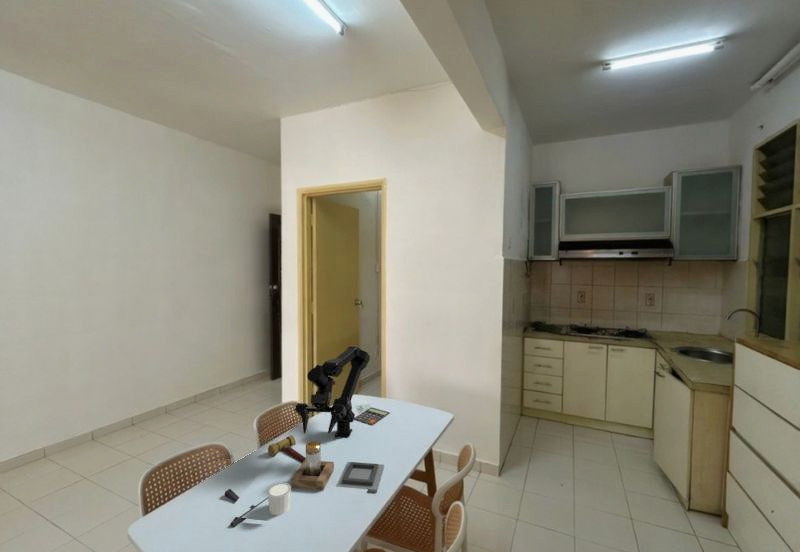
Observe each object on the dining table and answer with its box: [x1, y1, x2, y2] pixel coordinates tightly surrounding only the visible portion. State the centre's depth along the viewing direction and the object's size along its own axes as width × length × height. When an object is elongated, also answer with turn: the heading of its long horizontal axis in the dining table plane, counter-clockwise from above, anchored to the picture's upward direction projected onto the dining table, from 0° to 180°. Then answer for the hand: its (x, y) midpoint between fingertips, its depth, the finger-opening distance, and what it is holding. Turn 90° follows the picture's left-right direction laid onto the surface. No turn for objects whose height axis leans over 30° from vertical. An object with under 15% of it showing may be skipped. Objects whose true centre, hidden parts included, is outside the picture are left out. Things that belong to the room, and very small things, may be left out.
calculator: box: [353, 407, 391, 426], centre depth 170 cm, size 12×1×15 cm
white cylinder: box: [267, 482, 292, 516], centre depth 106 cm, size 7×7×7 cm
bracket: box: [224, 488, 268, 528], centre depth 110 cm, size 14×15×3 cm
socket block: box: [291, 460, 335, 491], centre depth 121 cm, size 11×11×4 cm
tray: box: [335, 461, 385, 493], centre depth 123 cm, size 14×14×2 cm
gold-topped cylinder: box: [305, 440, 322, 477], centre depth 120 cm, size 5×5×12 cm
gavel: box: [267, 434, 306, 464], centre depth 135 cm, size 21×5×10 cm
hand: (316, 433), depth 127 cm, fingers open, 9 cm apart
